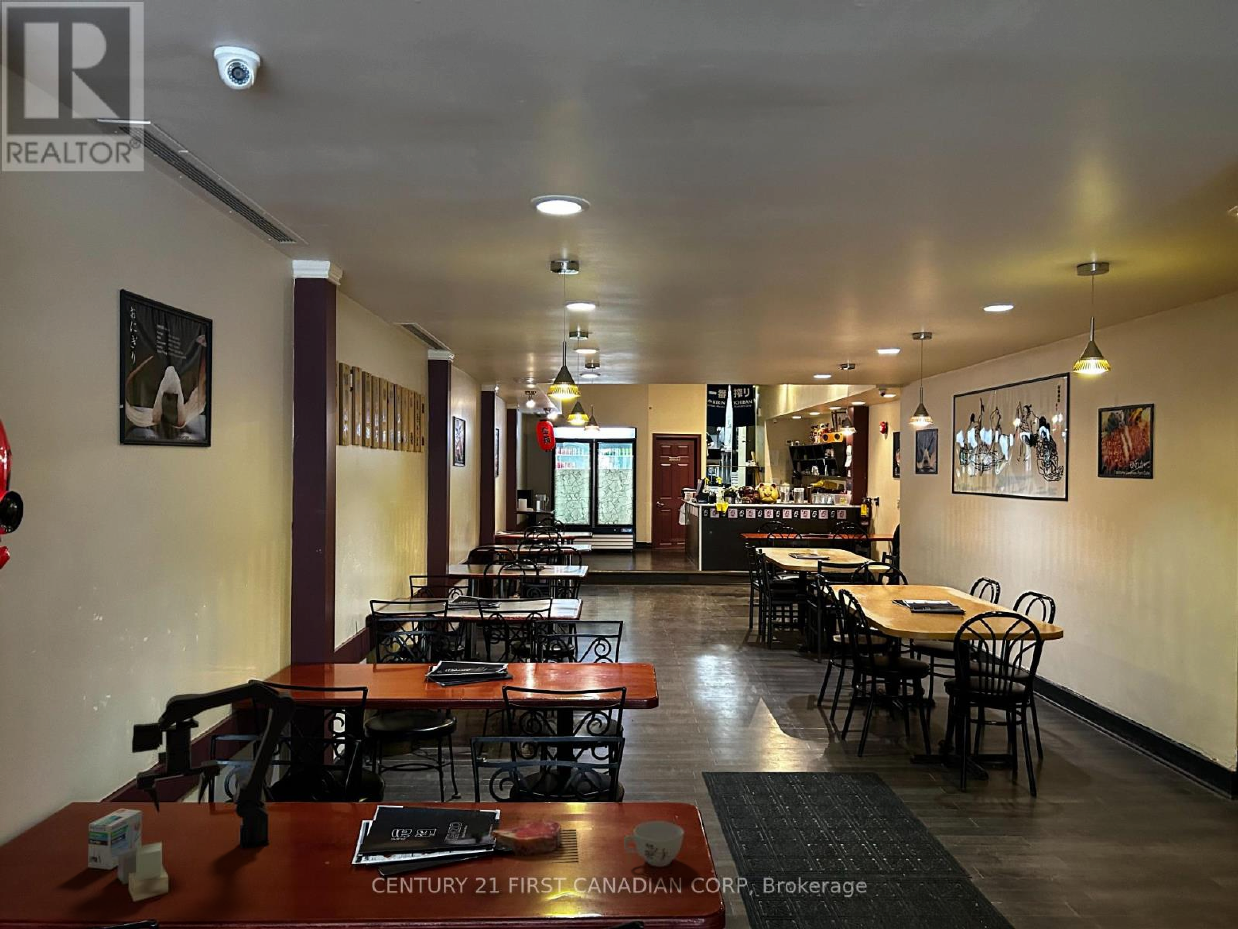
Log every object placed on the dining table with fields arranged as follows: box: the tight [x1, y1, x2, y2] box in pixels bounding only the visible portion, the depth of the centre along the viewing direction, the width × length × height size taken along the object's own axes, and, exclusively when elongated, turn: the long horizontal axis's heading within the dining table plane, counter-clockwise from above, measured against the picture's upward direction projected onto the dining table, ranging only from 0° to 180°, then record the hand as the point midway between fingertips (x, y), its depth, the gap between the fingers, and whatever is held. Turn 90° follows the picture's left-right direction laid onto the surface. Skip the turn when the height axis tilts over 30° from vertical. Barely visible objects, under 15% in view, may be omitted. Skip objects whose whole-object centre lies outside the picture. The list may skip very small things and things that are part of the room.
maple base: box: [128, 865, 169, 902], centre depth 199 cm, size 7×7×4 cm
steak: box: [491, 818, 580, 865], centre depth 222 cm, size 25×21×6 cm
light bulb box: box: [88, 808, 143, 871], centre depth 215 cm, size 11×7×11 cm, turn 168°
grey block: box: [117, 847, 137, 885], centre depth 205 cm, size 5×5×6 cm
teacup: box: [623, 820, 685, 868], centre depth 214 cm, size 15×12×8 cm
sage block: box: [136, 841, 163, 881], centre depth 199 cm, size 5×5×6 cm
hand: (178, 808), depth 217 cm, fingers open, 9 cm apart
